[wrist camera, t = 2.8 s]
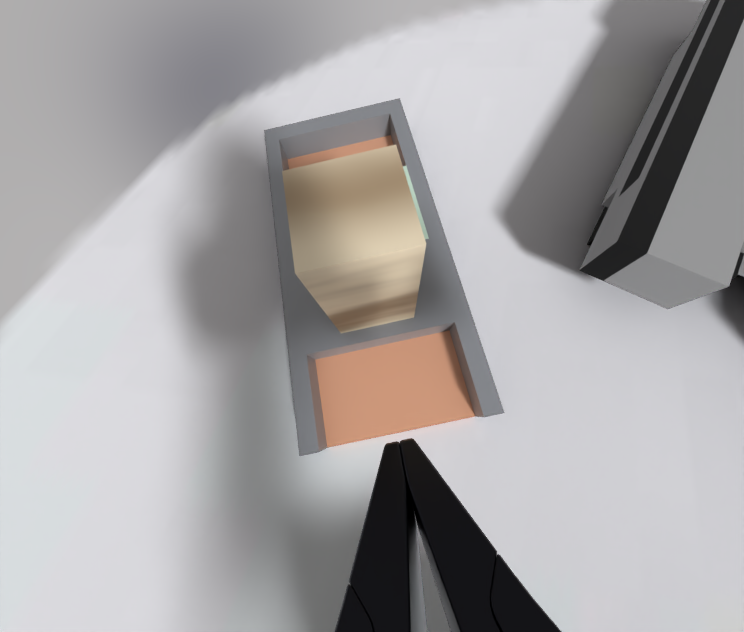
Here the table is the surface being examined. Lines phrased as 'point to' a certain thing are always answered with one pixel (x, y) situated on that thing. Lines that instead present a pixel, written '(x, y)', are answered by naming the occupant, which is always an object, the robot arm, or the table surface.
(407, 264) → the block
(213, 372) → the table surface
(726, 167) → the game console
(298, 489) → the table surface
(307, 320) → the box
